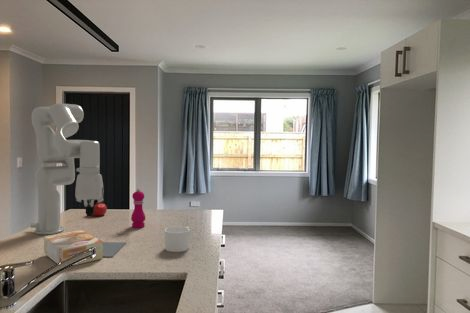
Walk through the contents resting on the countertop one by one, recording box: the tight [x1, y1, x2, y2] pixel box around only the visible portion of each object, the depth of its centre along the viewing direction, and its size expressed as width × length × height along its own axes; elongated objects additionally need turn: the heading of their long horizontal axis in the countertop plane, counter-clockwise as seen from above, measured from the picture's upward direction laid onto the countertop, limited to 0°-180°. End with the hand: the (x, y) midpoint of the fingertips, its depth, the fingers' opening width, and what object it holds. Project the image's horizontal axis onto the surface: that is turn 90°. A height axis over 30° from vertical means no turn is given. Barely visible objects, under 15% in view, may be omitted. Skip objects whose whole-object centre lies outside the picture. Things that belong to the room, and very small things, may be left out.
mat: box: [103, 241, 127, 258], centre depth 152 cm, size 20×19×1 cm
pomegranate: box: [92, 202, 108, 217], centre depth 217 cm, size 10×10×9 cm
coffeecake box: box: [43, 229, 104, 267], centre depth 142 cm, size 15×7×20 cm
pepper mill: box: [130, 187, 146, 229], centre depth 192 cm, size 7×7×20 cm
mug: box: [164, 226, 191, 253], centre depth 156 cm, size 13×10×8 cm
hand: (90, 215), depth 151 cm, fingers closed
